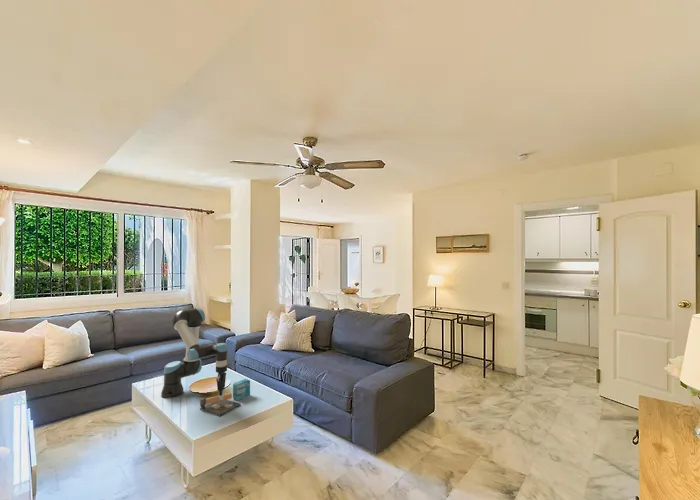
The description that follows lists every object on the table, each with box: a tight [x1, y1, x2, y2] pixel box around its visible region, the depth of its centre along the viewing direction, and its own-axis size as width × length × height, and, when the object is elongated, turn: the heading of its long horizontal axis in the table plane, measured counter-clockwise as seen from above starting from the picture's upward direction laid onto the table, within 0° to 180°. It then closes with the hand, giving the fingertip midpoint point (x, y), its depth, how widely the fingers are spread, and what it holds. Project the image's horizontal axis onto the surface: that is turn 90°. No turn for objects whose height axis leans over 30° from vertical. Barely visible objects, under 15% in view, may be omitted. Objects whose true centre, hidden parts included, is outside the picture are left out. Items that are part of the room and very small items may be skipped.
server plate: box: [199, 399, 242, 417], centre depth 229 cm, size 20×18×3 cm
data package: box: [232, 378, 251, 401], centre depth 245 cm, size 12×4×12 cm, turn 143°
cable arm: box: [199, 392, 233, 407], centre depth 231 cm, size 21×4×4 cm, turn 123°
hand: (221, 399), depth 231 cm, fingers closed
